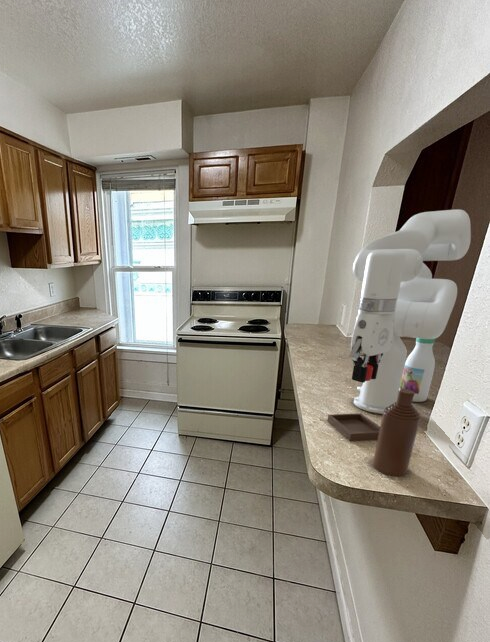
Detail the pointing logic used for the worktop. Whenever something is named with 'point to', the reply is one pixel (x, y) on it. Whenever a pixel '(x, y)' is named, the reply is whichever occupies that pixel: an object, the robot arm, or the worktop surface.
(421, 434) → the worktop surface
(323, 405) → the worktop surface
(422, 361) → the milk bottle
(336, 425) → the tray
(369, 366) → the cap
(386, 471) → the sauce bottle
